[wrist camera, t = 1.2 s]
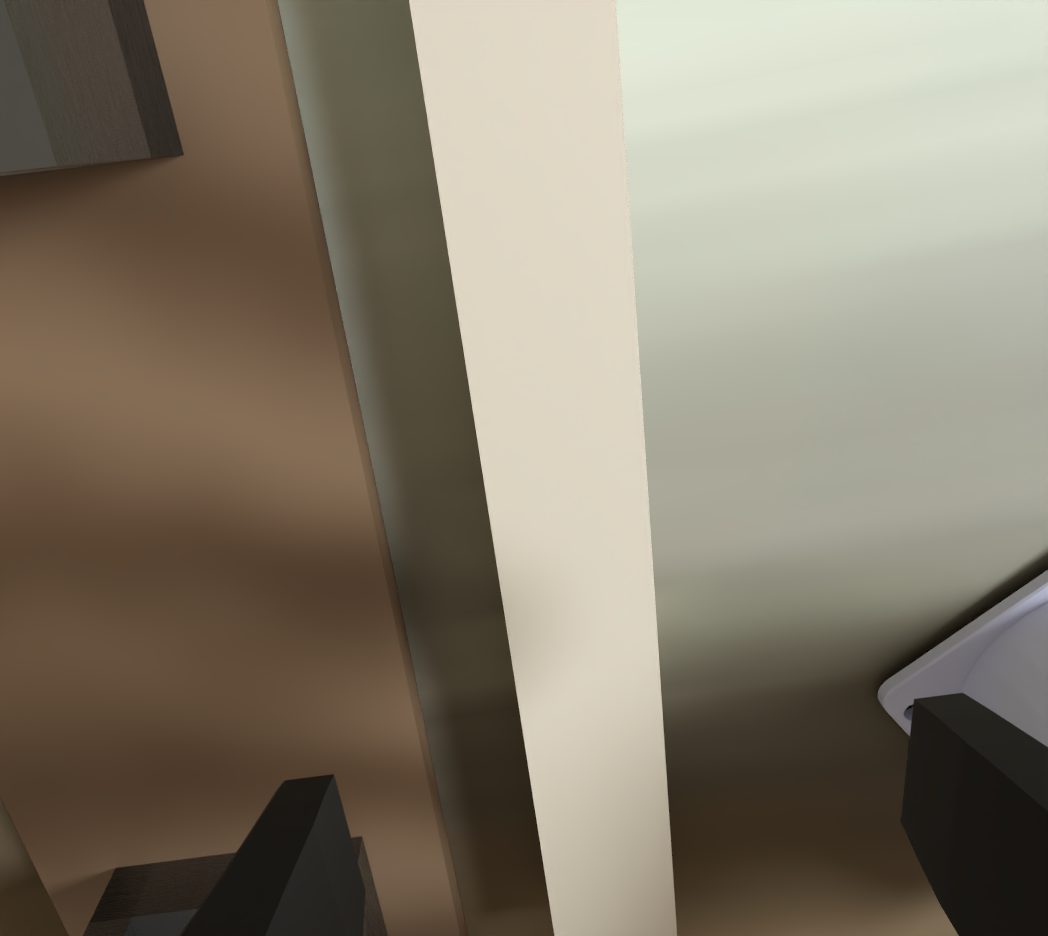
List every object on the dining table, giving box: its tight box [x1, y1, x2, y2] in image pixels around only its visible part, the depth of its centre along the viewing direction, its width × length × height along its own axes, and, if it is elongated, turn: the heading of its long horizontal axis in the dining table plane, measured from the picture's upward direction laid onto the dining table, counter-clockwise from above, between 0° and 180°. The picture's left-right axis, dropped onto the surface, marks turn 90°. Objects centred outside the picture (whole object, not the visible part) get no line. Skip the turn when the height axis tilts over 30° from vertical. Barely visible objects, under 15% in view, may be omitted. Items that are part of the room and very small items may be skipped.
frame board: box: [0, 0, 468, 936], centre depth 17 cm, size 29×10×1 cm, turn 6°
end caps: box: [0, 0, 388, 936], centre depth 15 cm, size 28×6×4 cm, turn 6°
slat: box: [409, 0, 677, 936], centre depth 17 cm, size 24×3×3 cm, turn 7°
